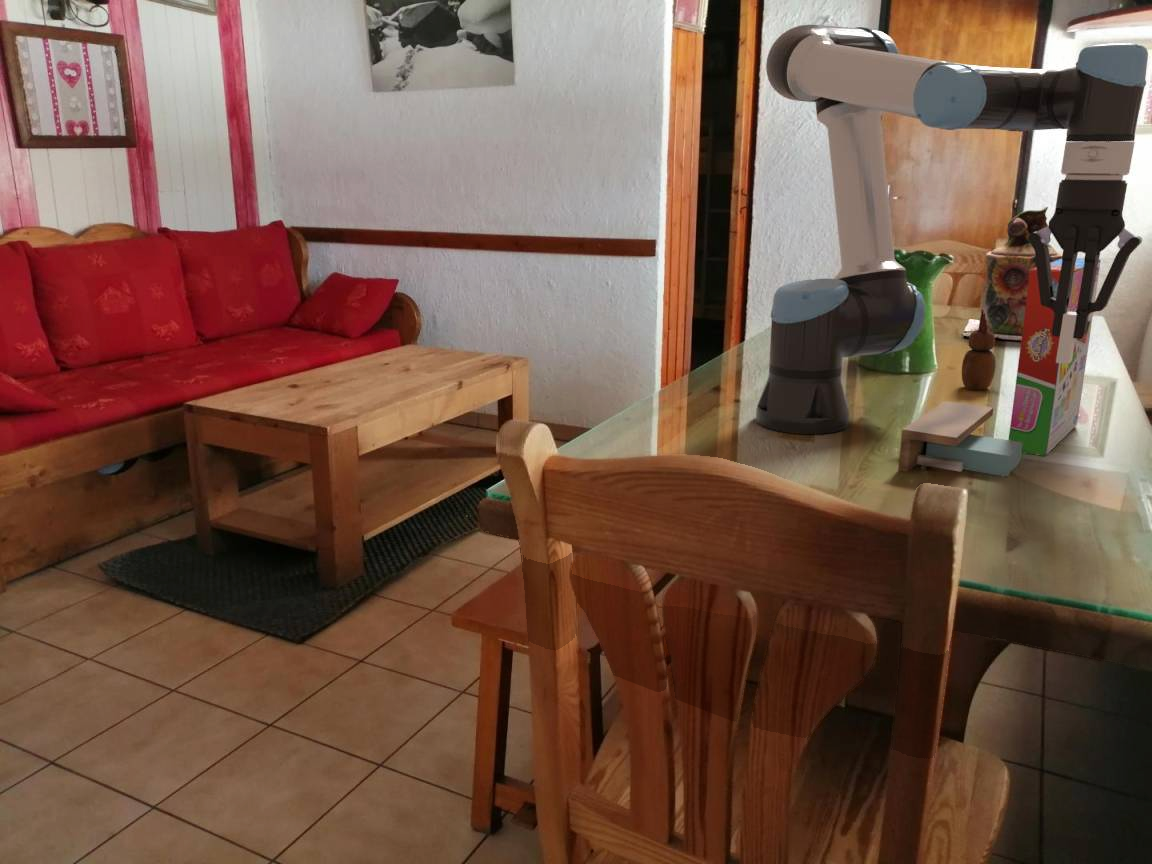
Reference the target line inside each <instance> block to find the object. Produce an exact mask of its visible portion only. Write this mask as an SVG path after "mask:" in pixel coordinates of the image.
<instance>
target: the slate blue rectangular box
mask: <svg viewBox="0 0 1152 864" xmlns="http://www.w3.org/2000/svg"><path fill="white" fill-rule="evenodd" d="M1022 445H1023V442H1017V441H1011V440H1009V439H1002V438H997V437H990V436H985V435H983V436H982V435H977V434H972V433H971V434H970V435H968V436H967V437H966V438H965V439H964V440H962V441H961V442H960V443H959V444H958V445H956V446H950V445H944V444H938V443H932V442H927V448H926V456H932V457H938V458H944V459H950V460H955V461H961V462H963V470H967V471H971V472H977V473H983V474H989V475H995V476H999V475H1002V476H1001V477H1005V476H1007V477H1009V475H1010V474H1011V473H1012V472H1013V471H1014V470H1015V469H1016V468H1017V466H1018V465H1019V464H1020V463H1021V459H1022V453H1023V452H1022ZM1014 468H1015V469H1014ZM1013 469H1014V470H1013ZM1012 470H1013V471H1012ZM1011 471H1012V472H1011ZM1010 472H1011V473H1010Z"/></svg>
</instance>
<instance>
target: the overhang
mask: <svg viewBox="0 0 1152 864" xmlns="http://www.w3.org/2000/svg"><path fill="white" fill-rule="evenodd" d="M993 414H994V407H991V406H986V405H985V406H983V405H976V404H969V403H962V402H961V403H960V402H955V401H954V402H953V401H947V400H943V401H942V402H940V403H939V404H938V405H936V406H935V407H933V408H931V409H930V410H928V411H927V412H926V413H924V414H922V415H921V416H920V417H919V418H917V419H916V420H914V421H913V422H911V423H909V424H908V425H907V426H905V427H904V428H902V430H901V439H900V440H901V441H900V451H899V460H898V471H900V472H904V473H905V472H906V473H907V472H909V471H911V469H913V468H914V467H915V466H916V465H919V466H924V467H925V466H926V467H932V468H937V469H942V470H946V471H947V470H948V471H954V472H959V473H961V472H962V471H963V470H964V469H963V462H961V461H955V460H950V459H944V458H938V457H932V456H926V448H927V442H932V443H938V444H944V445H950V446H956V445H958V444H959V443H960V442H961V441H962V440H964V439H965V438H966V437H967V436H968V435H970V434H972V433H974V432H975V431H976V430H977V429H978V428H980V427H981V426H982V425H983V424H984V423H985V422H987V421H988V420H989V419H990V418H991V417H992V416H993Z"/></svg>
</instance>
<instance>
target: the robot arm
mask: <svg viewBox="0 0 1152 864" xmlns="http://www.w3.org/2000/svg"><path fill="white" fill-rule="evenodd" d="M768 51H769V52H768V55H767V57H766V63H765V64H766V65H765V67H766V68H765V70H766V76H767V79H768V81H769V82H768V83H769V84H770V86H771V87H772V88H773V90H774V91H775V92H776V93H777V94H779V96H781V97H783V98H786V99H788V100H793V101H797V102H807V103H808V102H809V103H811V102H812V103H815V110H816V119H817V121H818V122H820V123H821V124H823V125H824V126H825V127H826V128H827V136H828V145H829V155H830V164H831V165H830V166H831V167H830V168H831V174H832V175H831V177H832V184H833V194H834V203H835V213H836V221H837V222H836V223H837V231H838V233H837V235H838V241H839V242H838V244H839V251H840V253H839V255H840V263H841V268H840V270H839V272H838V273H837V275H835V277H834V278H817V279H811V278H810V279H804V280H802V279H801V280H796V281H793V282H790V283H786V284H784V285H781V286H780V287H779V288H777V290H776V291H775V293H774V295H773V299H772V300H773V301H772V309H771V311H770V318H771V324H770V325H771V327H770V346H769V347H770V348H769V364H768V365H769V367H768V376H767V379H766V383H765V384H764V388H763V390H762V393H761V396H760V398H759V400H758V403H757V405H756V413H755V421H756V423H757V424H759V425H760V426H762V427H763V428H767V429H770V430H773V431H778V432H782V433H791V434H799V435H800V434H802V435H803V434H804V435H819V434H820V435H821V434H830V433H831V434H832V433H836V432H837V433H838V432H840V431H843V430H845V429H847V428H848V427H849V426H850V425H849V424H850V423H849V422H850V409H849V406H848V400H847V398H846V393H845V390H844V386H843V383H842V382H843V381H842V369H843V368H842V367H843V358H850V357H860V356H870V355H884V354H886V355H887V354H889V353H892V352H899V351H900V350H903V349H906V348H907V347H909V346H910V345H911V344H913V343H914V341H915V340H916V337H917V336H918V335H919V334H921V330H922V328H923V326H924V323H925V317H926V303H925V300H924V296H923V294H922V292H921V291H918V290H919V289H918V287H916V286H915V285H914V284H912V283H910V282H908V280H907V272H906V271H907V269H906V268H905V267H904V266H903V265H902V264H900V263H899V262H897V261H896V259H895V258H896V257H895V246H894V237H893V229H892V217H891V209H890V197H889V188H888V187H889V186H888V179H887V170H886V169H887V167H886V158H885V150H884V149H885V148H884V138H883V127H882V126H883V125H882V118H881V117H882V115H883V114H884V113H885V112H887V113H891V114H895V115H899V116H903V117H904V116H905V117H907V118H908V117H909V118H913V119H917V120H920V122H921V124H923V125H924V126H926V127H929V128H933V129H940V130H947V131H954V130H966V129H967V130H980V129H981V130H999V131H1000V130H1001V131H1008V132H1019V133H1021V132H1022V133H1023V132H1026V131H1042V130H1044V131H1045V130H1058V129H1059V130H1060V129H1061V130H1066V139H1065V141H1066V142H1065V146H1064V151H1063V157H1062V164H1061V170H1060V173H1061V174H1062V175H1064V176H1065V177H1064V179H1061V181H1060V182H1059V184H1058V189H1057V190H1058V191H1057V198H1056V203H1055V208H1054V209H1055V210H1054V213H1053V215H1052V217H1051V218H1050V219H1049V221H1048V226H1047V227H1045V228H1043V229H1041V230H1039V231H1037V232H1033V233H1031V234H1029V236H1028V239H1029V241H1030V243H1031V245H1032V247H1033V248H1034V250H1035V257H1036V266H1037V275H1038V284H1039V293H1040V302H1041V305H1042V306H1044V307H1048V308H1050V309H1052V310H1053V311H1054V320H1053V326H1052V335H1053V336H1057V337H1060V339H1059V345H1058V352H1057V358H1056V363H1062V364H1069V363H1070V362H1071V361H1072V357H1073V351H1074V345H1075V339H1082V338H1083V337H1084V336H1085V334H1086V329H1087V323H1088V317H1089V314H1090V313H1092V312H1093V313H1096V312H1102V311H1103V310H1104V309H1106V307H1108V304H1109V301H1110V299H1111V297H1112V295H1113V292H1114V290H1115V288H1116V286H1117V284H1118V282H1119V279H1120V277H1121V275H1122V274H1123V271H1124V268H1125V266H1126V265H1127V262H1128V260H1129V257H1130V256H1131V254H1132V253H1133V252H1134V251H1135V250H1136V249H1137V248H1138V247H1139V246H1140V245H1141V244H1142V241H1143V238H1142V236H1139V235H1135V234H1133V233H1132V232H1131V231H1129V230H1128V229H1126V228H1125V227H1126V223H1125V220H1124V217H1123V212H1124V206H1125V199H1126V194H1127V188H1128V187H1127V186H1128V182H1127V181H1126V180H1125V179H1124V180H1123V178H1124V176H1128V175H1129V174H1130V170H1131V164H1132V158H1133V153H1134V148H1135V143H1136V142H1135V137H1136V130H1137V129H1136V128H1137V124H1138V119H1139V114H1140V109H1141V104H1142V100H1143V95H1144V91H1145V88H1146V85H1147V80H1146V75H1147V68H1148V59H1149V52H1148V49H1147V47H1145V46H1144V45H1141V44H1138V43H1106V44H1095V45H1090V46H1086V47H1084V48H1082V49H1081V50H1080V52H1079V54H1078V56H1077V57H1078V58H1077V61H1076V63H1075V65H1072V66H1069V67H1059V68H1057V67H1056V68H1044V69H1043V68H1040V69H1039V68H1022V67H1021V68H1019V67H1018V68H1017V67H999V66H998V67H992V66H985V65H984V66H980V65H971V64H964V63H959V62H958V63H957V62H951V61H949V62H948V61H944V60H939V59H938V60H937V59H931V58H924V57H918V56H912V55H905V54H900V51H899V49H898V46H897V45H896V43H895V41H894V40H893V39H892V38H891V37H890V36H889V35H888V34H886V32H885V33H884V32H883V31H881V30H877V29H876V30H875V29H871V28H869V27H862V26H856V27H847V26H846V27H843V26H832V25H831V26H830V25H819V24H804V25H802V24H801V25H798V26H795V27H792V28H789V29H788V30H786V31H784V32H783V33H782V34H781V35H780V36H778V37H777V38H776V39H775V41H774V42H773V43H772V44H771V47H770V49H769V50H768ZM1051 234H1052V236H1053V237H1054V239H1055V241H1056V242H1057V245H1058V246H1059V247H1060V249H1061V250H1062V253H1063V255H1062V266H1061V272H1060V278H1059V284H1058V291H1057V297H1056V298H1054V293H1053V283H1052V274H1051V265H1050V256H1049V248H1048V245H1047V244H1050V243H1051V241H1052V239H1051ZM1117 237H1118V238H1119V240H1118V242H1117V248H1118V249H1119V250H1118V252H1117V253H1116V255H1115V257H1114V258H1113V262H1112V264H1111V266H1110V268H1109V270H1108V272H1107V275H1106V276H1105V279H1104V280H1103V284H1102V286H1101V288H1100V290H1099V293H1098V295H1097V297H1096V298H1095V301H1094V302H1092V296H1093V290H1094V284H1095V278H1096V272H1097V266H1098V260H1099V259H1100V255H1101V252H1103V250H1105V249H1106V248H1107V247H1108V246H1109V245H1111V243H1112V242H1113V241H1114V240H1115V239H1116V238H1117ZM1079 253H1083V254H1084V258H1085V259H1084V261H1085V262H1084V269H1083V275H1082V281H1081V287H1080V294H1079V300H1078V306H1077V310H1076V312H1069V311H1067V309H1068V308H1069V299H1070V293H1071V287H1072V281H1073V275H1074V269H1075V263H1076V258H1078V254H1079Z"/></svg>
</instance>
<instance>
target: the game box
mask: <svg viewBox="0 0 1152 864" xmlns="http://www.w3.org/2000/svg"><path fill="white" fill-rule="evenodd" d="M1084 259H1085V257H1077V258H1076V263H1075V269H1074V275H1073V281H1072V287H1071V293H1070V299H1069V308H1068V309H1067V311H1069V312H1076V310H1077V306H1078V300H1079V294H1080V287H1081V281H1082V275H1083V269H1084V262H1085V261H1084ZM1101 260H1102V259H1100V258H1099V260H1098V266H1097V272H1096V278H1095V284H1094V290H1093V296H1092V302H1094V301H1096V298H1097V297H1096V296H1097V287H1098V282H1099V275H1100V268H1101ZM1050 265H1051V274H1052V283H1053V293H1054V298H1056V297H1057V291H1058V284H1059V278H1060V272H1061V266H1062V259H1059V260H1056V261H1054V262H1050ZM1093 318H1094V312H1092V313H1090V314H1089V317H1088V323H1087V329H1086V334H1085V336H1084V337H1083V338H1082V339H1075V345H1074V351H1073V357H1072V361H1071V362H1070V363H1069V364H1062V363H1056V358H1057V352H1058V345H1059V339H1060V337H1057V336H1053V335H1052V326H1053V320H1054V311H1053V310H1052V309H1050V308H1048V307H1044V306H1042V305H1041V302H1040V293H1039V284H1038V275H1037V267H1036V268H1033V269H1031V270H1030V275H1029V283H1028V291H1027V299H1026V307H1025V315H1024V323H1023V331H1022V339H1021V340H1020V348H1019V356H1018V365H1017V370H1016V380H1015V386H1014V387H1015V388H1014V394H1013V403H1012V411H1011V419H1010V426H1009V427H1010V428H1009V432H1008V433H1009V434H1008V440H1011V441H1017V442H1023V445H1022V452H1021V453H1023V452H1026V453H1025V454H1029V453H1032V454H1031V455H1034V454H1038V455H1037V456H1040V455H1042V457H1046V456H1047V455H1048V454H1049V453H1050V452H1051V451H1052V449H1054V448H1055V447H1056V446H1057V445H1058V444H1059V443H1060V442H1061V441H1063V439H1064V438H1065V437H1066V436H1068V434H1069V433H1070V432H1071V431H1072V430H1073V429H1074V428H1075V427H1076V426H1077V425H1078V422H1079V413H1080V407H1081V401H1082V393H1083V387H1084V381H1085V380H1084V378H1085V373H1086V366H1087V358H1088V352H1089V345H1090V340H1091V339H1090V337H1091V329H1092V324H1093Z"/></svg>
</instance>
